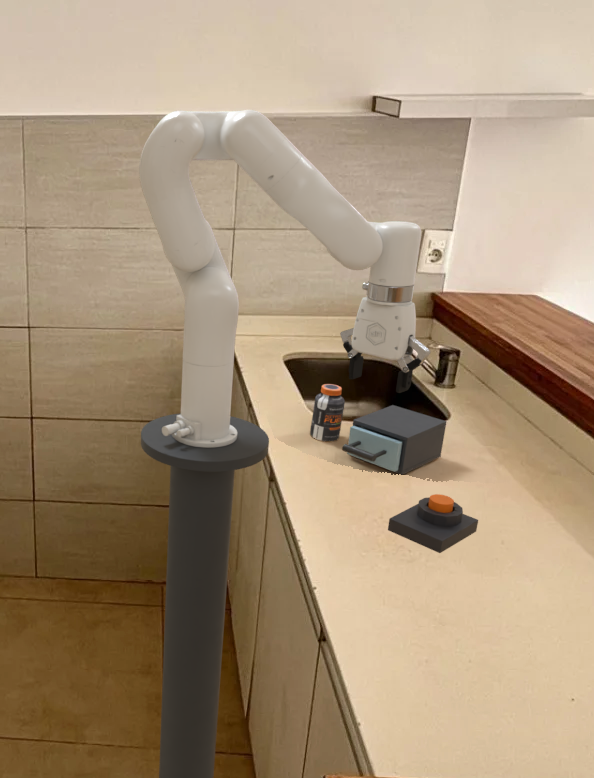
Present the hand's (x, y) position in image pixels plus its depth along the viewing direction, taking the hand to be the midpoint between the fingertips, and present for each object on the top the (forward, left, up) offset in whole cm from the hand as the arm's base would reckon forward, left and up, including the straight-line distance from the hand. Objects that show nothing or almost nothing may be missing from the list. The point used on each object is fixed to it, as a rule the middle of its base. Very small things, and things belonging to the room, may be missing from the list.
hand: (377, 384), depth 142 cm
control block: (-13, -21, -17) cm, 30 cm away
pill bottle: (+6, +14, -17) cm, 23 cm away
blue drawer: (+4, 0, -16) cm, 17 cm away
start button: (-11, -21, -13) cm, 27 cm away
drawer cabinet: (+9, 0, -17) cm, 19 cm away
